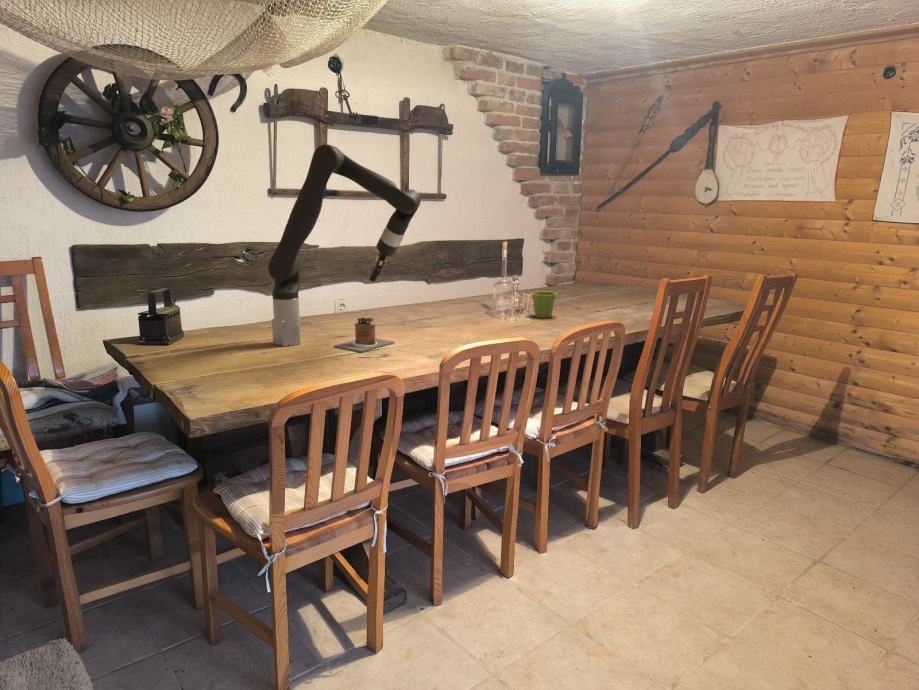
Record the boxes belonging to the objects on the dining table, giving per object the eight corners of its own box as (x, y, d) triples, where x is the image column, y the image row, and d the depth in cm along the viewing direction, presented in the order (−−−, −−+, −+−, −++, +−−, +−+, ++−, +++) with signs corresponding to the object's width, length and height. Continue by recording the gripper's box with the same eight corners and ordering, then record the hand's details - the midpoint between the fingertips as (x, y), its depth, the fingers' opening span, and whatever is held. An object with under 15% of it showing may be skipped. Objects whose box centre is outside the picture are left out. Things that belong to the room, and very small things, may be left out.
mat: (361, 352, 222) (361, 351, 222) (333, 347, 230) (333, 345, 230) (395, 343, 236) (394, 341, 236) (367, 338, 244) (367, 336, 244)
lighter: (353, 343, 232) (352, 317, 230) (357, 341, 236) (356, 315, 233) (373, 345, 230) (372, 318, 228) (377, 343, 233) (376, 317, 231)
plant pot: (542, 313, 298) (543, 290, 295) (561, 317, 289) (562, 293, 286) (524, 316, 290) (525, 292, 288) (543, 320, 282) (544, 295, 279)
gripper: (383, 227, 233) (366, 262, 241) (378, 243, 221) (361, 280, 229) (401, 236, 235) (384, 270, 243) (397, 252, 223) (380, 288, 231)
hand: (373, 275), depth 236 cm, fingers open, 8 cm apart
